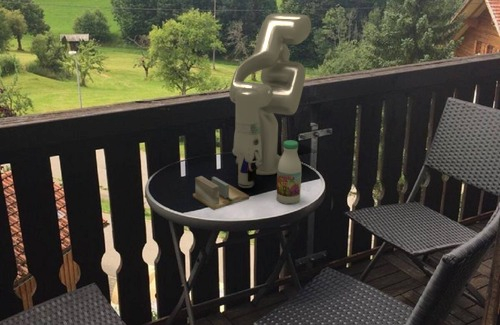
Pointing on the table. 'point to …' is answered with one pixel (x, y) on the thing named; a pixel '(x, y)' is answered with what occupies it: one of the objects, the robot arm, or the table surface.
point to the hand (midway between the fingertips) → (246, 177)
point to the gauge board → (231, 195)
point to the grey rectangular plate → (222, 187)
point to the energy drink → (243, 172)
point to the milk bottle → (289, 174)
